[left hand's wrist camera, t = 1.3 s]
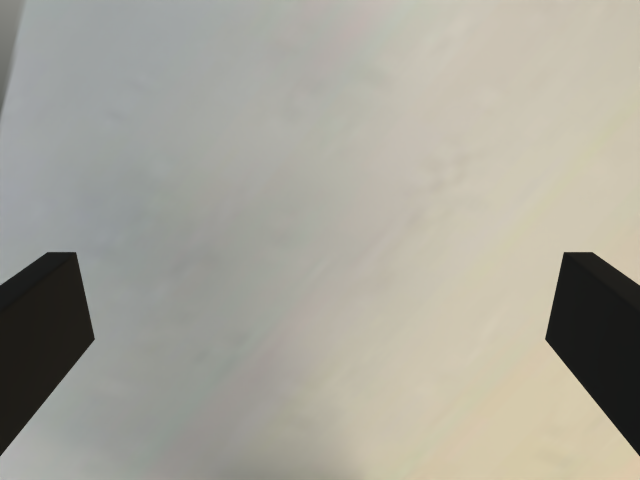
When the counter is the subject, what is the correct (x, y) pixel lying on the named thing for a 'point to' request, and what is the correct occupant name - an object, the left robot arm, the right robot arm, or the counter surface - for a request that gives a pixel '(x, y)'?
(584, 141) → the counter surface
